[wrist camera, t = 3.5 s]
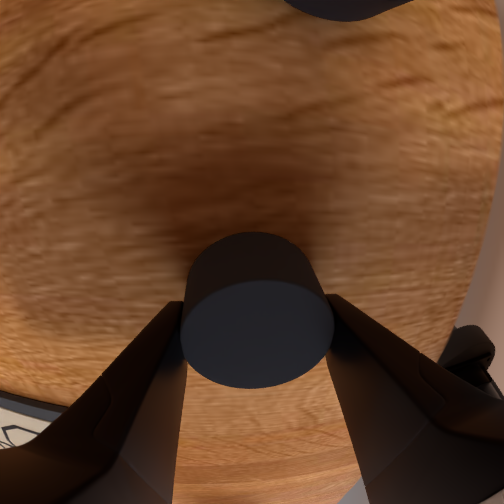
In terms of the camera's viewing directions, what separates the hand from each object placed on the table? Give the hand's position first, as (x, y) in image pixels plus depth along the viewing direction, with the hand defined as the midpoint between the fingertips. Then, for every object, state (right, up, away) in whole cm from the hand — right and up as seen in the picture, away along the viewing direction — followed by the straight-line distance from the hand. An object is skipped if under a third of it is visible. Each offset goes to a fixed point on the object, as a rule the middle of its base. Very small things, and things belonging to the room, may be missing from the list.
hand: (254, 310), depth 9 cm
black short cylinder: (0, +1, +1) cm, 1 cm away
